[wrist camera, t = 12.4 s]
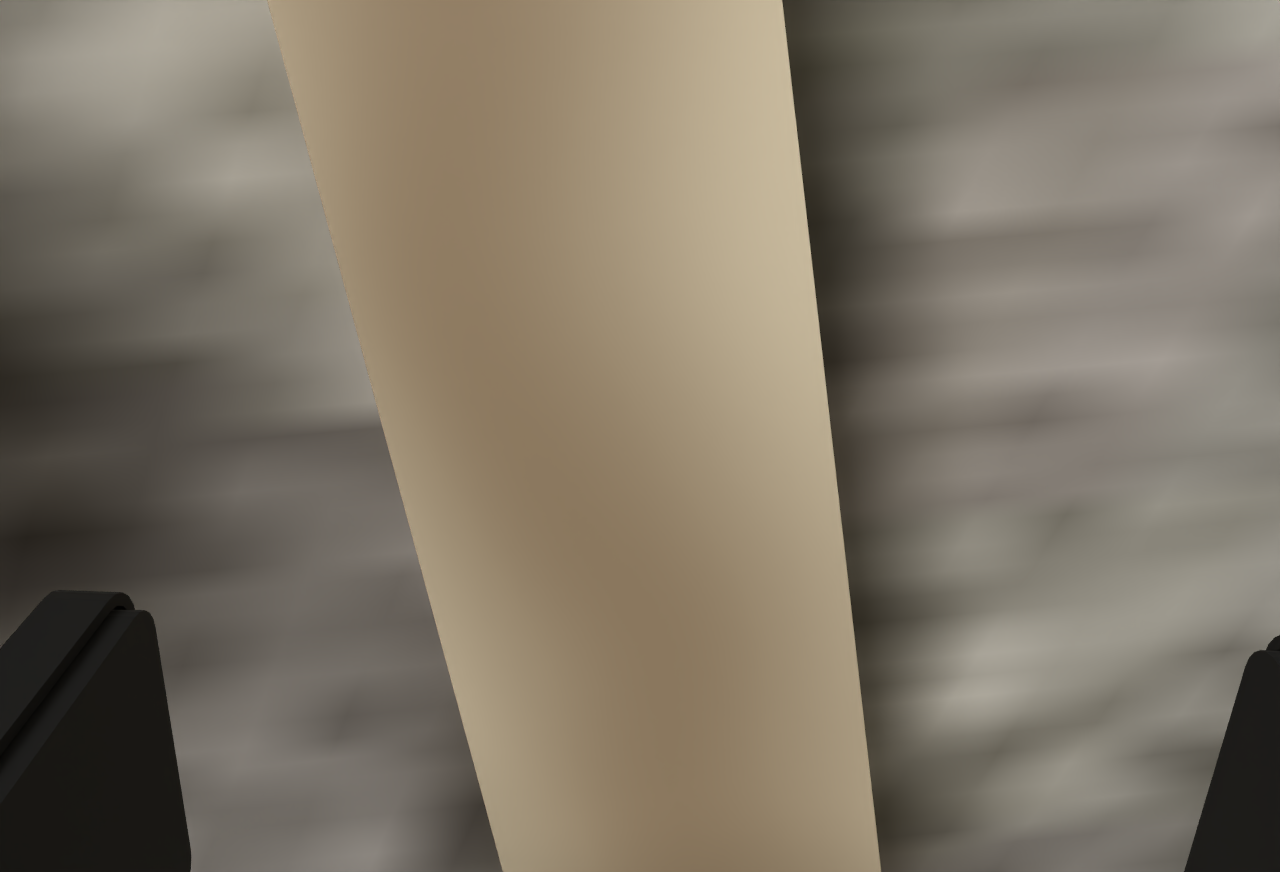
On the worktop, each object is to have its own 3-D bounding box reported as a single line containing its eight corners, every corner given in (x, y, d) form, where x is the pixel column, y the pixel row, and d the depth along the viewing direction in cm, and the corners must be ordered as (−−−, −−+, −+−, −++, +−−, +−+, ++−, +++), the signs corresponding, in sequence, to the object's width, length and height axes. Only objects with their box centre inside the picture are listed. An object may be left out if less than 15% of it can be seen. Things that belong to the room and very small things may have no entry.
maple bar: (664, -636, 11) (675, -932, 7) (886, 1141, 20) (942, 1411, 16) (247, -547, 11) (52, -790, 8) (654, 1167, 20) (657, 1440, 17)
